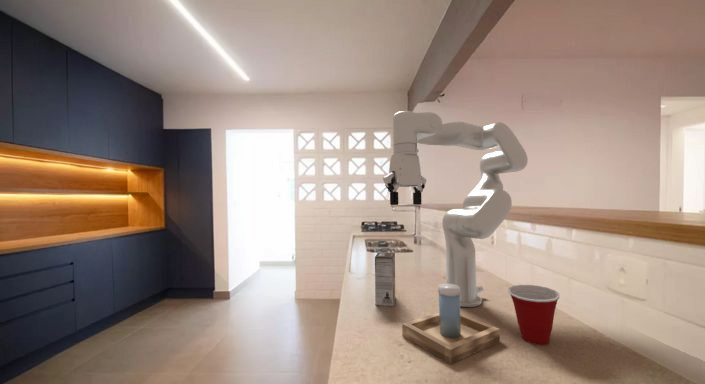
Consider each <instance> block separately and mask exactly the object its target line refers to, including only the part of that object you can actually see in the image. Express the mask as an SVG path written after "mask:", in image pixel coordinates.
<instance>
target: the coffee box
mask: <svg viewBox="0 0 705 384" xmlns="http://www.w3.org/2000/svg"><path fill="white" fill-rule="evenodd" d="M395 255H396V254H395V252H386V251H385V252H383V251H381V252H380V251H378V252H377V253H376V254H375V256H374V287H375V288H374V295H375V296H374V298H375V303H374V304H375V305H376V306H387V307H388V306H389V307H394V306H395V302H396V258H395V257H396V256H395Z"/></svg>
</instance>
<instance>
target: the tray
mask: <svg viewBox="0 0 705 384" xmlns="http://www.w3.org/2000/svg"><path fill="white" fill-rule="evenodd" d="M460 321H461V336H460V337H459V338H447V337H444V336H442V335H441V334H440V323H439V311H438V312H436V313H432V314H429V315H426V316H423V317H419V318H416V319H413V320H410V321H406V322H403V323H401V324H402V325H401V326H402V327H401V329H402V330H401V332H402V336H403V337H404V338H406V339H407V340H409V341H411V342H412V343H414V344H415V345H418V346H419V347H421V348H422V349H425V350H426V351H427V352H430V353H431V354H433V355H434V356H436V357H438V358H439V359H441V360H443V361H444V362H446V363H447V364H449V365H452V364H454V363H457V362H459V361H461V360H463V359H465V358H468V357H470V356H471V355H474V354H476V353H478V352H481V351H482V350H485V349H487V348H489V347H491V346H493V345H495V344H498V343H500V341H501V337H500V336H501V333H500V328H498V327H496V326H494V325H491V324H488V323H486V322H483V321H481V320H478V319H476V318H473V317H471V316H467V315H465V314H463V313H461V312H460Z"/></svg>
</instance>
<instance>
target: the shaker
mask: <svg viewBox="0 0 705 384" xmlns="http://www.w3.org/2000/svg"><path fill="white" fill-rule="evenodd" d="M437 287H438V289H437V290H438V291H437V292H438V312H439V323H440V334H441V335H442V336H444V337H447V338H459V337H460V336H461V321H460V313H461V306H460V287H459V286H458V285H454V284H447V283H439V284H438V286H437Z"/></svg>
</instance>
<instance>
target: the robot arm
mask: <svg viewBox="0 0 705 384" xmlns="http://www.w3.org/2000/svg"><path fill="white" fill-rule="evenodd" d="M392 135H393V137H392V140H393V141H392V142H393V144H392V146H393V154H391V156H390V160H389V168H388V169H389V170H388V174H387V175H385V176H384V177H383V178H382V181H383V183H384V184H385V185H384V186H385V187H386V189H387V192H388V193H389V205H391V206H398V205H399V191H398V189H399V188H400V187H401V188H409V187H411V188H412V190H413V191H414V192H412V205H415V206H417V205H419V206H420V205H422V193H423V190H424V189H425V187H426V183H427V178H425V177H424V176H422V172H421V163H420V158H419V155H418V154H419V148H418V144H421V145H425V146H443V147H445V146H446V147H447V146H448V147H449V146H451V147H458V148H459V147H460V148H465V149H470V150H474V151H486V150H490V149H496V148H499V149H500V150H496V151H491V152H488V153H486V154H485V155H483V156H482V157H481V159H480V161H479V171H480V179H479V182H478V183H477V184H476V186H475V187H474V188H473V189H472V190H471V191H470V192H468V194H466V196H465V198H464V200H463V202H462V208H452V209H450V210H448V211H446V212H445V213H444V215H443V217H442V221H441V223H442V229H443V233H444V239H445V240H444V241H445V265H446V266H445V269H446V270H445V271H446V274H445V276H446V284H454V285H458V286H459V287H460V307H462V308H463V307H464V308H473V307H474V308H475V307H478V306H481V305H482V304H483V303H482V297H480V296H478V294H479V293H481V292H483V291H484V287H483V286H482V285H478V286H477V270H476V267H477V266H476V247H475V244H474V241H473V240H472V239H476V240H477V239H478V240H485V239H488V238H489V237H491V236H492V235H493V234H494V233H495V232H496V230H497V229H498V228H499V227H500V225H501V224H502V223H503V222H504V221H505V220H506V219H507V217H508V215H510V214H509V213H510V212H511V210H512V197H511V195H510V194H509V193H508V191H506V190H504V184H503V182H502V180H501V179H500V174H507V173H508V174H509V173H516V172H520V171H522V170H524V169H525V168H526V167H527V165H528V161H529V160H528V155H527V152H526V150H525V148H524V146H523V145H522V144H521V142H520V140H519V139H518V137H517V136H516V135H515V133H514V132H513V130H512V129H511V128H510V127H509V126H508V125H507V124H506V123H504V122H501V121H497V122H494V123H490V124H488V125H487V124H486V125H482V126H481V125H476V124H472V123H469V122H464V121H449V122H445V123H443V121H442V118H441V117H440V115H438V114H437V113H435V112H428V111H427V112H425V111H424V112H414V111H411V110H402V111H401V110H400V111H398V112H395V113H394V114H393V117H392Z"/></svg>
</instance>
